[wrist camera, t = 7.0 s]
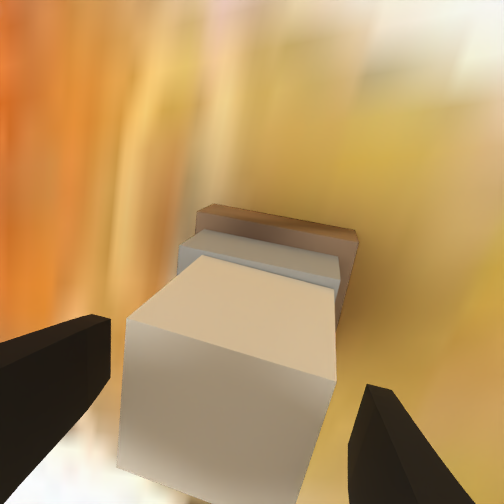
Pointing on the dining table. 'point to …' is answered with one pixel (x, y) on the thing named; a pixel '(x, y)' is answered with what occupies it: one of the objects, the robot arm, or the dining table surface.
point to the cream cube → (227, 383)
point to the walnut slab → (286, 237)
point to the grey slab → (262, 257)
